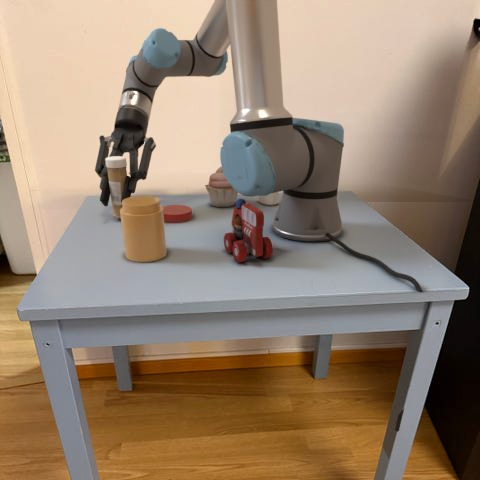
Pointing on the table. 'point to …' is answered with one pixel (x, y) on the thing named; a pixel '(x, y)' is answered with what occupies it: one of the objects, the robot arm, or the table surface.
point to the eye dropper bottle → (269, 199)
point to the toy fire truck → (247, 233)
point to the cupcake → (220, 190)
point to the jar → (143, 229)
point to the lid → (177, 213)
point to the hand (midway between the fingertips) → (114, 203)
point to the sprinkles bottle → (116, 181)
